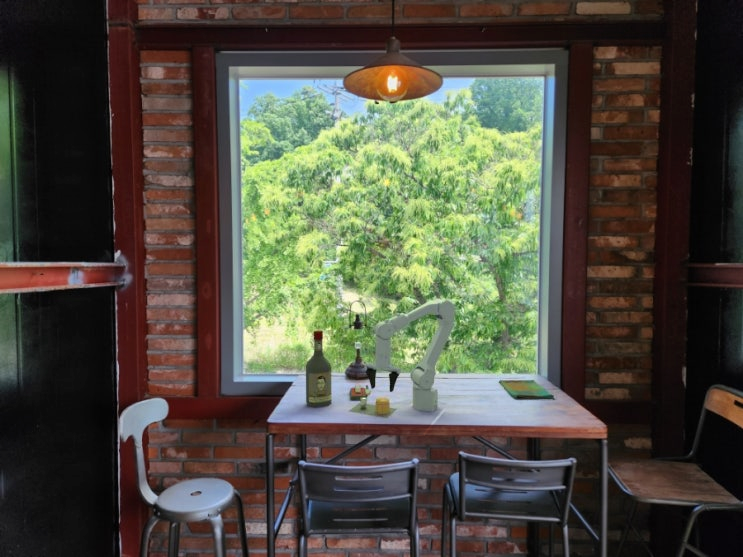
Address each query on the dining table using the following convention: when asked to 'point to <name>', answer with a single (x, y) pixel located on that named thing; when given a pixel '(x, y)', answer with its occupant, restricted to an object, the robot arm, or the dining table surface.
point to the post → (363, 403)
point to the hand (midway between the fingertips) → (382, 389)
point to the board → (371, 411)
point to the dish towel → (525, 389)
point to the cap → (382, 406)
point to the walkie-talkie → (359, 392)
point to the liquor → (318, 376)
